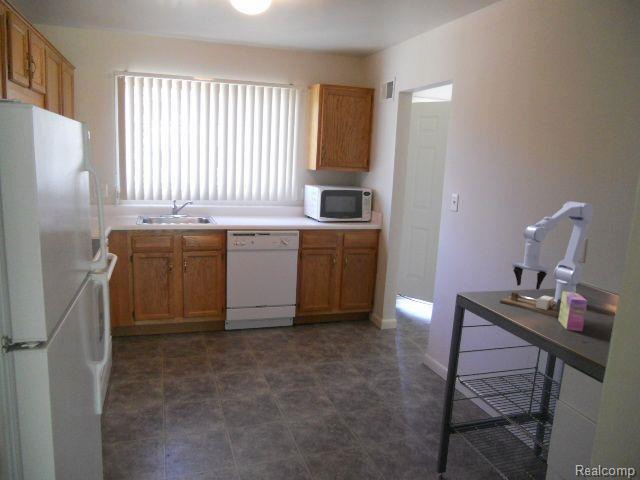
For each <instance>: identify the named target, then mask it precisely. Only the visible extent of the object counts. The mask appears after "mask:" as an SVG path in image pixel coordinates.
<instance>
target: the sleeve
mask: <svg viewBox="0 0 640 480" xmlns="http://www.w3.org/2000/svg"><path fill="white" fill-rule="evenodd" d="M536 299H537V302H536V308H541V309H545V310H547V309H548V308H550V307H549V302H550V300H552V301H554V299H555V296H548V295H542V296H539V297H538V298H536Z"/></svg>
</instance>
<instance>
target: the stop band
mask: <svg viewBox="0 0 640 480" xmlns="http://www.w3.org/2000/svg"><path fill="white" fill-rule="evenodd" d="M553 303H555V302H554V301H552V300H550V302H549V307H552V308H553V307H554V306H553Z"/></svg>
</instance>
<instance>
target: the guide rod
mask: <svg viewBox="0 0 640 480" xmlns="http://www.w3.org/2000/svg"><path fill="white" fill-rule="evenodd" d="M517 298H521V299H525V300H530V301H534V302H537V299H538V298H534V297H529V296H525V295H520V294H518V295H517ZM553 306H556V307H557V303H555V302H554V303H553Z"/></svg>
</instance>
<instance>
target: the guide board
mask: <svg viewBox="0 0 640 480" xmlns="http://www.w3.org/2000/svg"><path fill="white" fill-rule="evenodd" d="M517 295H519V291H515V290H514V291H512V292H511V295H508V296H506V297H504V298H502V299H500V300H499V303H500V304H505V305H508V306H512V307H516V308H521V309H523V310H524V309H525V310H530V311H532V312H533V311H534V312H537V313H542V314H546V315H549V316H550V315H551V316H555V317H558V318H559V312H558V311H556V308H557V307H556V306H554V307H553V308H552V307H550V308H548V309H547V310H545V309H541V308H536V302H534V301H530V300H525V299H521V298H517Z"/></svg>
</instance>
